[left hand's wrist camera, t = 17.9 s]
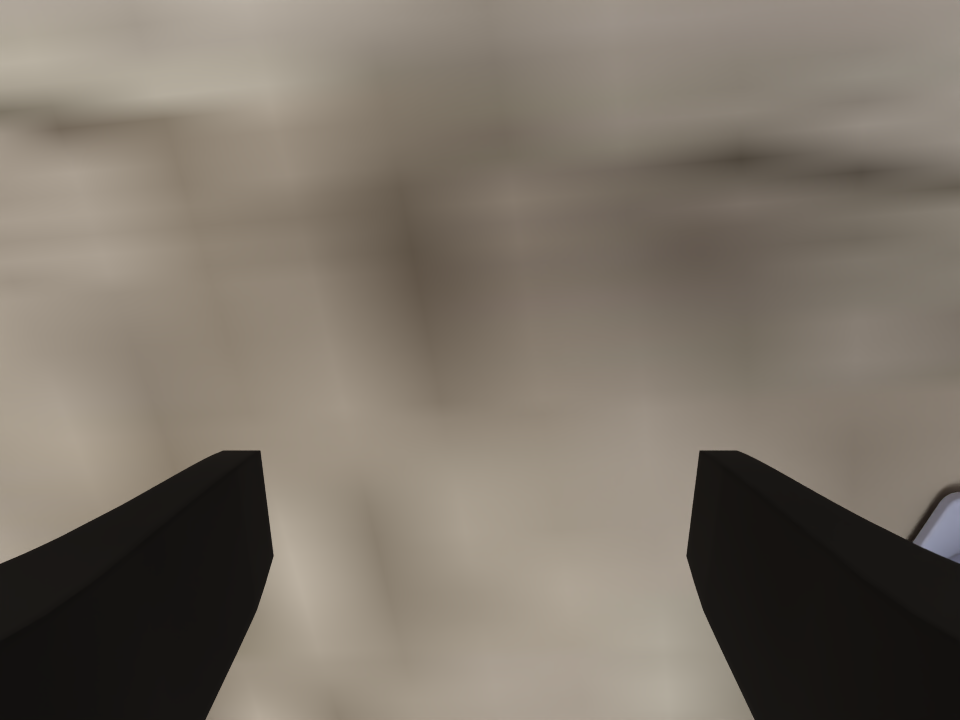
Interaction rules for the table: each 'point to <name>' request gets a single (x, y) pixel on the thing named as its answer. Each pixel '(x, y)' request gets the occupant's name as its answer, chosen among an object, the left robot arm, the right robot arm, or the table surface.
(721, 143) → the table surface
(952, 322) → the table surface
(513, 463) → the table surface
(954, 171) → the table surface
